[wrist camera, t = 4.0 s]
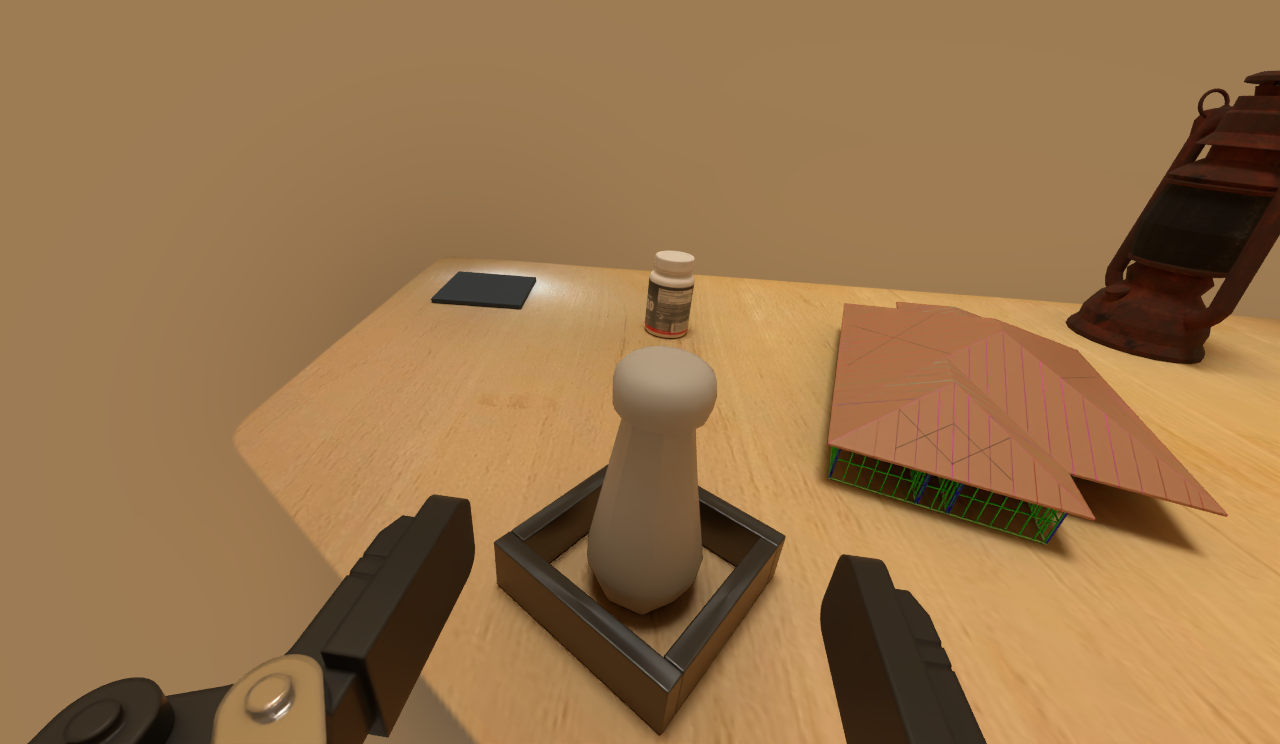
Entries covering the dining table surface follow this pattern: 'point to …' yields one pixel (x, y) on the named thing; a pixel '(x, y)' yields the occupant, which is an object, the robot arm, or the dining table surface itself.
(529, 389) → the dining table surface
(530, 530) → the holder stand
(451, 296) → the mat
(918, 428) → the house
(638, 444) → the salt shaker
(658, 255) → the pill bottle
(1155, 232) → the lantern
